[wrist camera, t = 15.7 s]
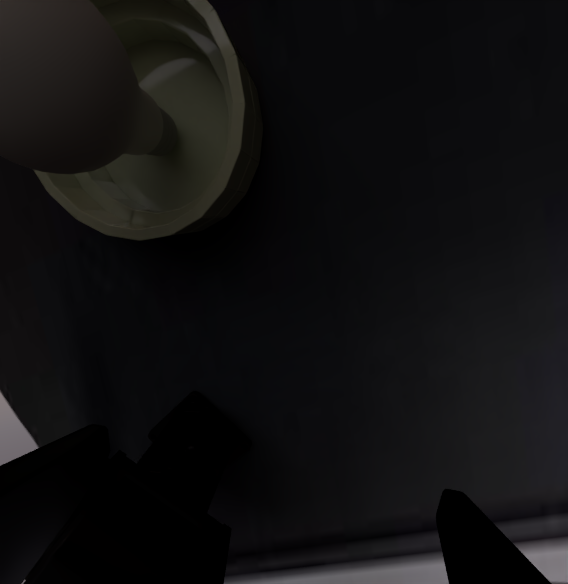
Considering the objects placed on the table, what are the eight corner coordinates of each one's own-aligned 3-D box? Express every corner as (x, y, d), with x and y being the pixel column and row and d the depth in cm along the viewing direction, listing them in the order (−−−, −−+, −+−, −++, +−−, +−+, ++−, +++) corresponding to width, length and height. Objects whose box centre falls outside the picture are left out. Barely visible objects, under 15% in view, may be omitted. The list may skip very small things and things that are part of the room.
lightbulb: (154, 53, 17) (-138, -213, 6) (232, 131, 17) (82, 5, 7) (101, 141, 19) (-196, 48, 8) (173, 209, 19) (-19, 206, 9)
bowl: (183, 270, 21) (145, 285, 16) (50, 141, 20) (-28, 122, 15) (306, 127, 17) (299, 99, 13) (151, -38, 16) (87, -129, 12)
